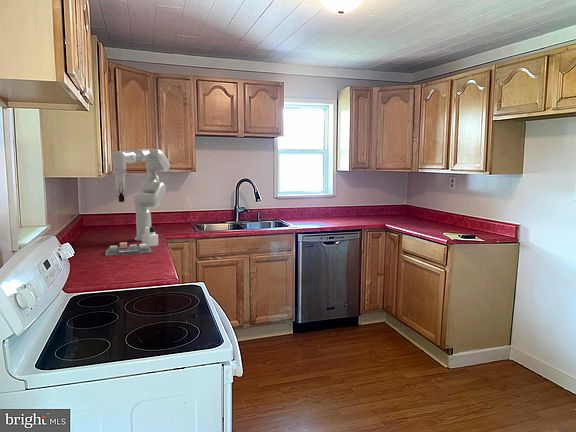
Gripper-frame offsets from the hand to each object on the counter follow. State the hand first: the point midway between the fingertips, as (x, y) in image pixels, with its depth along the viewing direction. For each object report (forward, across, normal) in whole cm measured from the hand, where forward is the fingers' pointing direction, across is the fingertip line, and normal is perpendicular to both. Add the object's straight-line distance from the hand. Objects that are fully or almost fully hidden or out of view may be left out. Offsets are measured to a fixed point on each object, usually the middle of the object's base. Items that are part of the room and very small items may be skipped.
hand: (121, 201), depth 258 cm
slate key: (+26, +19, +5) cm, 33 cm away
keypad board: (+28, +18, +2) cm, 34 cm away
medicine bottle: (+28, +4, +15) cm, 33 cm away
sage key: (+26, +18, -6) cm, 33 cm away
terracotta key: (+25, +18, -1) cm, 31 cm away
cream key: (+27, +19, +10) cm, 34 cm away
